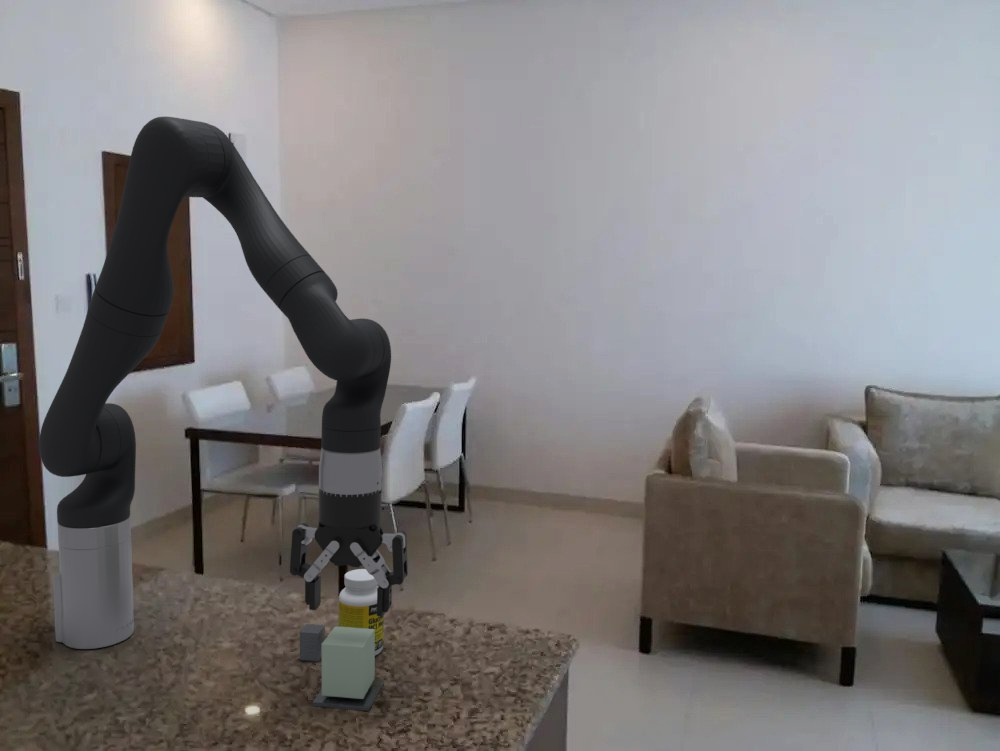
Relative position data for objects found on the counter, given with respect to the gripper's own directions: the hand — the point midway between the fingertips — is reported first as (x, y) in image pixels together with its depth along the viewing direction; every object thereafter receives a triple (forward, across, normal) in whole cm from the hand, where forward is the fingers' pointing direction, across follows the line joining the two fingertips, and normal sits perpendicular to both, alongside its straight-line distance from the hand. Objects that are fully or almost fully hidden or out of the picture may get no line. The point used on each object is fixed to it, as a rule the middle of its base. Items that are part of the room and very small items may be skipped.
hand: (348, 610), depth 103 cm
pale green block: (+10, 0, 0) cm, 10 cm away
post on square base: (+11, 0, 0) cm, 11 cm away
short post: (+11, -8, +9) cm, 16 cm away
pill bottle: (+11, -2, +12) cm, 16 cm away
